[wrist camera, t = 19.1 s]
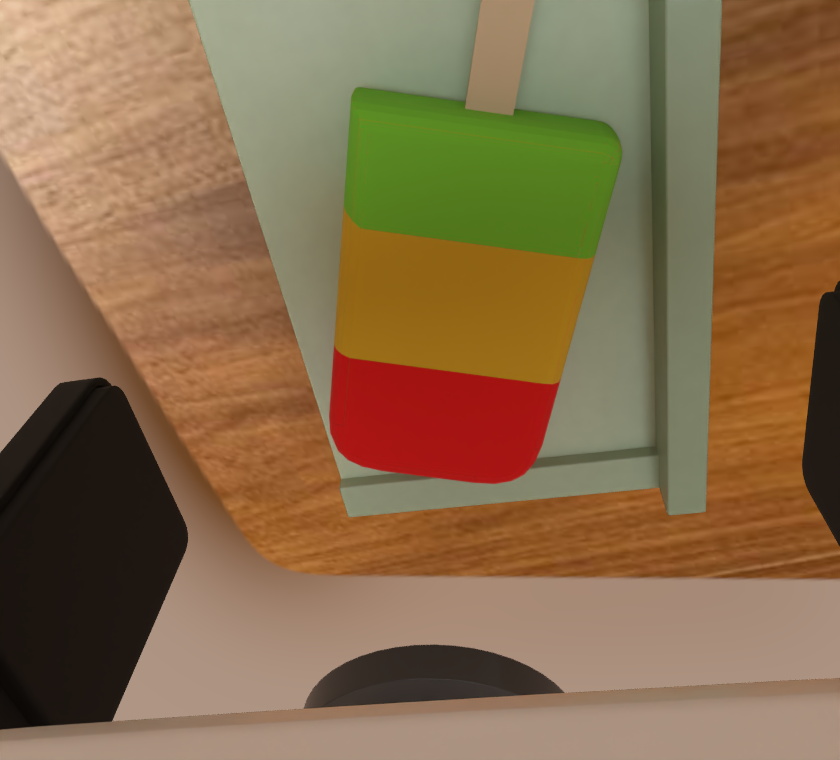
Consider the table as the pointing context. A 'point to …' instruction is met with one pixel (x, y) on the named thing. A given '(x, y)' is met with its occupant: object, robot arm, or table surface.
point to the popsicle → (463, 267)
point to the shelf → (619, 242)
